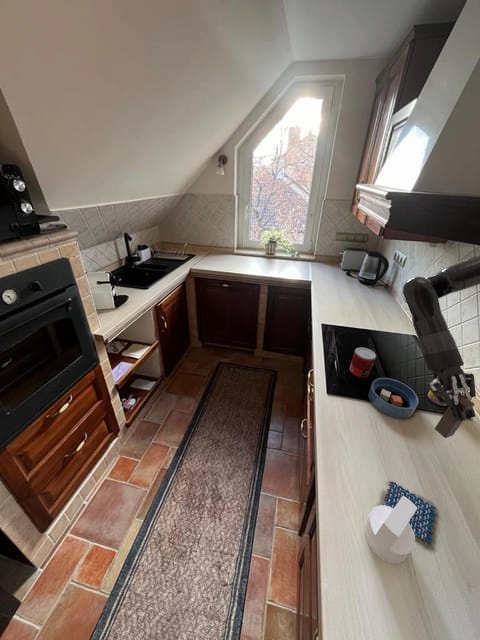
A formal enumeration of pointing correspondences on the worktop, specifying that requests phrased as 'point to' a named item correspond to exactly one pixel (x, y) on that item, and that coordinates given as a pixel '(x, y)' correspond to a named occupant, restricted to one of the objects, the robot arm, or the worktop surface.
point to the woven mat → (424, 512)
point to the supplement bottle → (434, 399)
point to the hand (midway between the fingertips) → (465, 418)
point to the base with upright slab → (391, 531)
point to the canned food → (362, 362)
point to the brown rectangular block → (448, 423)
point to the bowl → (397, 388)
